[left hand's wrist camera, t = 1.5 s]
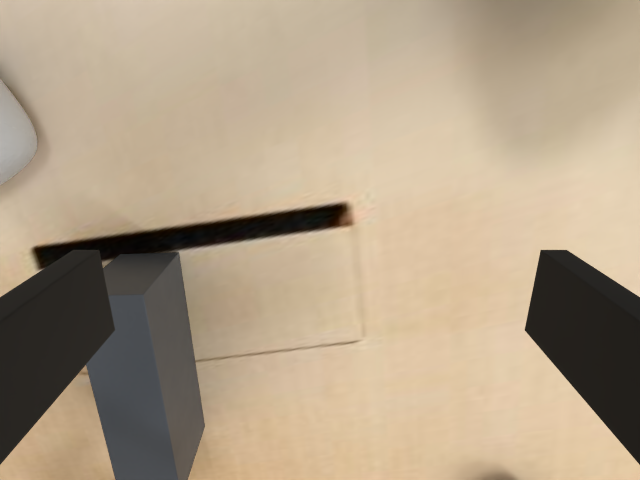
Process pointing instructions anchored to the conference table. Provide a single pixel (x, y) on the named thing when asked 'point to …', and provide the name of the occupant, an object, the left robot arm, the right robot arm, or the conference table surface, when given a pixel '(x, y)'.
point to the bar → (148, 371)
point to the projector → (14, 136)
